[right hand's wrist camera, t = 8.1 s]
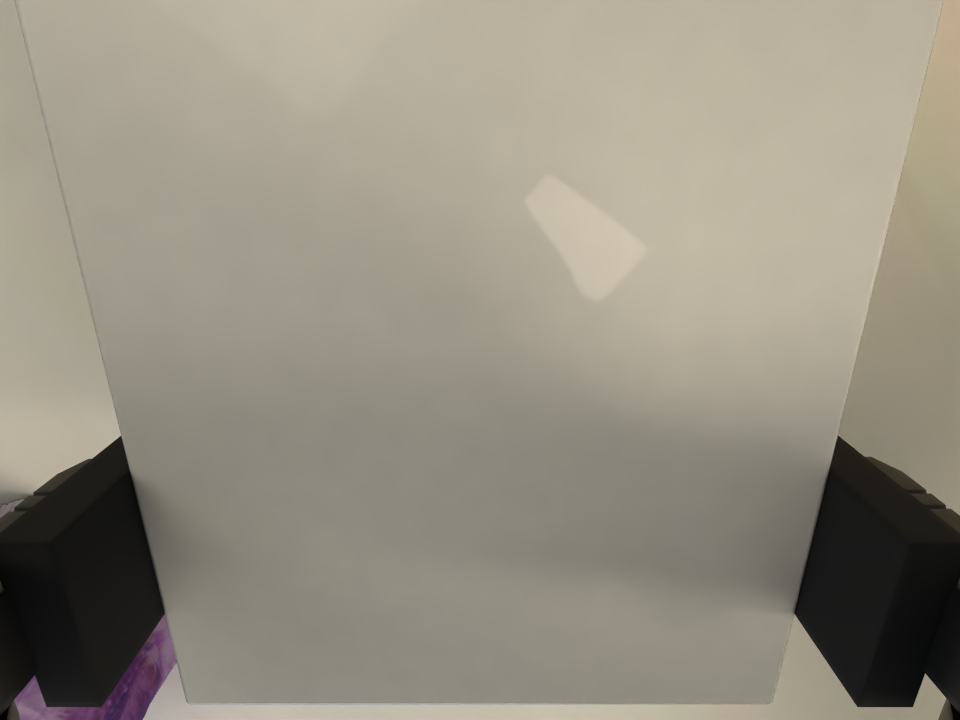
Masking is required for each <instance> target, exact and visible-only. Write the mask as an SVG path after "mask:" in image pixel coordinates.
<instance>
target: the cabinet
mask: <svg viewBox="0 0 960 720" xmlns="http://www.w3.org/2000/svg"><path fill="white" fill-rule="evenodd" d="M943 1H944V0H15V4H16V8H17V12H18V16H19V20H20V24H21V28H22V32H23V36H24V40H25V44H26V49H27V53H28V57H29V61H30V65H31V69H32V73H33V77H34V81H35V85H36V89H37V93H38V98H39V102H40V106H41V110H42V114H43V118H44V122H45V126H46V130H47V134H48V138H49V142H50V146H51V151H52V155H53V159H54V163H55V167H56V171H57V175H58V179H59V183H60V187H61V191H62V195H63V200H64V204H65V208H66V212H67V216H68V220H69V224H70V228H71V232H72V236H73V240H74V244H75V248H76V253H77V257H78V261H79V265H80V269H81V273H82V277H83V281H84V285H85V289H86V293H87V297H88V302H89V306H90V310H91V314H92V318H93V322H94V326H95V330H96V334H97V338H98V342H99V346H100V350H101V355H102V359H103V363H104V367H105V371H106V375H107V379H108V383H109V387H110V391H111V395H112V399H113V404H114V408H115V412H116V416H117V420H118V424H119V428H120V432H121V436H122V440H123V444H124V448H125V452H126V457H127V461H128V465H129V469H130V473H131V477H132V481H133V485H134V489H135V493H136V497H137V501H138V506H139V510H140V514H141V518H142V522H143V526H144V530H145V534H146V538H147V542H148V546H149V550H150V554H151V559H152V563H153V567H154V571H155V575H156V579H157V583H158V587H159V591H160V595H161V599H162V603H163V608H164V612H165V616H166V620H167V624H168V628H169V632H170V636H171V640H172V644H173V648H174V652H175V656H176V661H177V665H178V669H179V673H180V677H181V681H182V685H183V689H184V693H185V697H186V701H187V703H188V704H191V705H399V704H770V703H772V701H773V698H774V694H775V690H776V686H777V682H778V678H779V674H780V670H781V666H782V661H783V657H784V653H785V649H786V645H787V641H788V637H789V633H790V629H791V625H792V620H793V616H794V612H795V608H796V604H797V600H798V596H799V592H800V588H801V584H802V579H803V575H804V571H805V567H806V563H807V559H808V555H809V551H810V547H811V543H812V538H813V534H814V530H815V526H816V522H817V518H818V514H819V510H820V506H821V502H822V497H823V493H824V489H825V485H826V481H827V477H828V473H829V469H830V465H831V460H832V456H833V452H834V448H835V444H836V440H837V436H838V432H839V428H840V424H841V419H842V415H843V411H844V407H845V403H846V399H847V395H848V391H849V387H850V383H851V378H852V374H853V370H854V366H855V362H856V358H857V354H858V350H859V346H860V342H861V337H862V333H863V329H864V325H865V321H866V317H867V313H868V309H869V305H870V301H871V296H872V292H873V288H874V284H875V280H876V276H877V272H878V268H879V264H880V260H881V255H882V251H883V247H884V243H885V239H886V235H887V231H888V227H889V223H890V219H891V214H892V210H893V206H894V202H895V198H896V194H897V190H898V186H899V182H900V178H901V173H902V169H903V165H904V161H905V157H906V153H907V149H908V145H909V141H910V137H911V132H912V128H913V124H914V120H915V116H916V112H917V108H918V104H919V100H920V96H921V91H922V87H923V83H924V79H925V75H926V71H927V67H928V63H929V59H930V55H931V50H932V46H933V42H934V38H935V34H936V30H937V26H938V22H939V18H940V14H941V9H942V5H943Z"/></svg>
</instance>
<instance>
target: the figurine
mask: <svg viewBox="0 0 960 720" xmlns="http://www.w3.org/2000/svg"><path fill="white" fill-rule="evenodd" d="M23 500H25V499H20V500H18V501H16V500H15V501H13V502H11V503H10V502H9V504H8V505H4V504H3V505H2V507H0V518H1V517H2V516H4V515H5V514H6V513H8V512H13V511H14V507H15V506H17V505H18V504H19V503H21V502H22V501H23ZM176 662H177V661H176V656H175V652H174V648H173V644H172V640H171V636H170V632H169V628H168V624H167V620H166V616H165V614H164V616H163V617H162V619H161V620H160V622H159V623H158V625H157V626H156V628H155V629H154V631H153V632H152V633H151V635H150V636H149V638H148V639H147V641H146V642H145V644H144V645H143V647H142V648H141V650H140V651H139V653H138V654H137V656H136V657H135V659H134V660H133V662H132V663H131V664H130V666H129V667H128V669H127V670H126V672H125V673H124V675H123V676H122V678H121V679H120V681H119V682H118V684H117V685H116V687H115V688H114V690H113V691H112V693H111V694H110V696H109V697H108V698H107V700H106V701H105V703H104V704H103V706H102V707H46V704H45V702H44V699H43V696H42V693H41V691H40V688H39V685H38V682H37V680H36V677H35V676H34V677H33V678H32V679H31V680H30V682H29V683H28V684H27V685H26V686H25V688H24V689H23V690H22V691H21V692H20V694H19V695H18V696H17V697H16V698H15V699H14V701H15V704H16V706H17V709H18V712H19V717H20V720H143V718H144V716H145V714H146V712H147V709H148V707H149V704H150V703H151V701H152V700H153V698H154V696H155V695H156V693H157V692H158V690H159V688H160V687H161V685H162V684H163V682H164V681H165V679H166V678H167V676H168V675H169V673H170V671H171V670H172V668H173V667H174V665H175V664H176Z"/></svg>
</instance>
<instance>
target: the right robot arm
mask: <svg viewBox="0 0 960 720" xmlns="http://www.w3.org/2000/svg"><path fill="white" fill-rule="evenodd" d="M164 614H165V612H164V608H163V603H162V599H161V595H160V591H159V587H158V583H157V579H156V575H155V571H154V567H153V563H152V559H151V554H150V550H149V546H148V542H147V538H146V534H145V530H144V526H143V522H142V518H141V514H140V510H139V506H138V501H137V497H136V493H135V489H134V485H133V481H132V477H131V473H130V469H129V465H128V461H127V457H126V452H125V448H124V444H123V440H122V436H120V437H119V438H118V439H117V440H115V441H114V442H113V443H112V444H110V445H109V446H108V447H107V448H105V449H104V450H103V451H102V452H100V453H99V454H98V455H97V456H95V457H94V458H93V459H88V460H86V461H83V462H81V463H79V464H77V465H75V466H73V467H71V468H69V469H67V470H65V471H63V472H61V473H59V474H57V475H56V476H54V477H53V478H52V479H51V480H49V481H48V482H47V483H45V484H44V485H43V486H41V487H40V488H39V489H38V490H36V491H35V492H34V495H33V496H28V497H27V498H26V499H25V500H23V501H22V502H21V503H19V504H18V505H17V506H15V507H14V511H13V512H8V513H6V514H5V515H4V516H2V517H1V518H0V720H20V717H19V712H18V709H17V706H16V704H15V701H14V699H15V698H16V697H17V696H18V695H19V694H20V692H21V691H22V690H23V689H24V688H25V686H26V685H27V684H28V683H29V682H30V680H31V679H32V678H33V677H34V676H35V677H36V680H37V682H38V685H39V688H40V691H41V693H42V696H43V699H44V702H45V704H46V707H102V706H103V704H104V703H105V701H106V700H107V698H108V697H109V696H110V694H111V693H112V691H113V690H114V688H115V687H116V685H117V684H118V682H119V681H120V679H121V678H122V676H123V675H124V673H125V672H126V670H127V669H128V667H129V666H130V664H131V663H132V662H133V660H134V659H135V657H136V656H137V654H138V653H139V651H140V650H141V648H142V647H143V645H144V644H145V642H146V641H147V639H148V638H149V636H150V635H151V633H152V632H153V631H154V629H155V628H156V626H157V625H158V623H159V622H160V620H161V619H162V617H163V616H164ZM794 614H795V615H796V617H797V618H798V620H799V621H800V623H801V624H802V625H803V627H804V628H805V630H806V631H807V633H808V634H809V636H810V637H811V639H812V640H813V642H814V643H815V645H816V646H817V648H818V649H819V651H820V652H821V654H822V655H823V657H824V658H825V659H826V661H827V662H828V664H829V665H830V667H831V668H832V670H833V671H834V673H835V674H836V676H837V677H838V679H839V680H840V682H841V683H842V685H843V686H844V688H845V689H846V691H847V692H848V693H849V695H850V696H851V698H852V699H853V701H854V702H855V704H856V705H857V707H913V705H914V702H915V699H916V697H917V694H918V691H919V688H920V686H921V683H922V680H923V677H924V675H925V673H926V674H927V676H928V677H929V678H930V679H931V680H932V681H933V683H934V684H935V685H936V686H937V687H938V689H939V690H940V691H941V692H942V693H943V694H944V696H945V697H946V698H947V699H946V701H945V704H944V706H943V709H942V712H941V714H940V717H939V719H938V720H960V516H959V515H958V514H957V513H955V512H954V511H953V510H951V509H946V505H945V504H944V503H942V502H941V501H940V500H938V499H937V498H936V497H934V496H933V495H932V494H927V493H926V490H925V489H924V488H923V487H921V486H920V485H919V484H917V483H916V482H915V481H914V480H912V479H911V478H910V477H908V476H907V475H906V474H904V473H903V472H901V471H899V470H897V469H895V468H893V467H891V466H889V465H887V464H885V463H883V462H881V461H879V460H877V459H875V458H872V457H864V456H863V455H862V454H860V453H859V452H858V451H857V450H855V449H854V448H853V447H852V446H850V445H849V444H848V443H847V442H845V441H844V440H843V439H842V438H840V437H839V436H837V440H836V444H835V448H834V452H833V456H832V460H831V465H830V469H829V473H828V477H827V481H826V485H825V489H824V493H823V497H822V502H821V506H820V510H819V514H818V518H817V522H816V526H815V530H814V534H813V538H812V543H811V547H810V551H809V555H808V559H807V563H806V567H805V571H804V575H803V579H802V584H801V588H800V592H799V596H798V600H797V604H796V608H795V612H794Z"/></svg>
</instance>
